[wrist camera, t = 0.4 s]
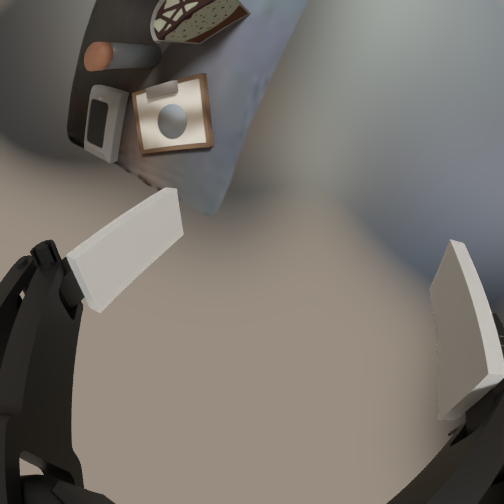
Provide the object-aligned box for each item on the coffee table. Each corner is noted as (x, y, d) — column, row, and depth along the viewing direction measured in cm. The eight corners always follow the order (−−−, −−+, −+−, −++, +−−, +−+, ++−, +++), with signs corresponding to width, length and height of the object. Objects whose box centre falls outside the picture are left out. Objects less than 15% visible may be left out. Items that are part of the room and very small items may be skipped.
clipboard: (136, 92, 39) (127, 93, 37) (206, 73, 34) (198, 73, 32) (145, 152, 45) (136, 155, 43) (213, 145, 40) (206, 148, 38)
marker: (141, 49, 34) (83, 49, 24) (160, 41, 33) (102, 37, 22) (143, 71, 37) (84, 75, 26) (162, 64, 35) (103, 64, 25)
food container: (241, -16, 24) (207, -40, 16) (259, 9, 26) (228, -14, 18) (178, 24, 30) (136, 15, 22) (192, 49, 32) (150, 43, 24)
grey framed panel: (80, 151, 47) (88, 86, 38) (92, 147, 50) (101, 84, 41) (106, 165, 46) (116, 93, 37) (118, 160, 49) (130, 92, 40)
